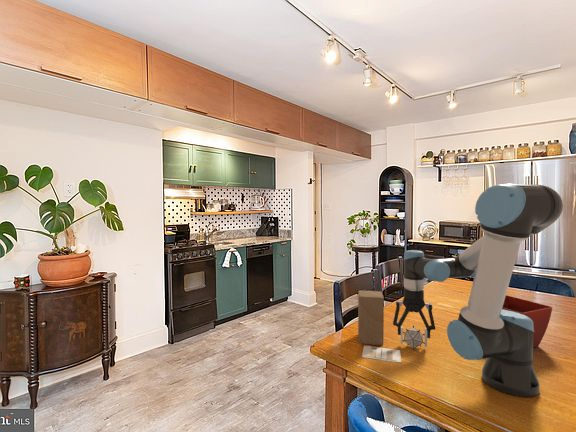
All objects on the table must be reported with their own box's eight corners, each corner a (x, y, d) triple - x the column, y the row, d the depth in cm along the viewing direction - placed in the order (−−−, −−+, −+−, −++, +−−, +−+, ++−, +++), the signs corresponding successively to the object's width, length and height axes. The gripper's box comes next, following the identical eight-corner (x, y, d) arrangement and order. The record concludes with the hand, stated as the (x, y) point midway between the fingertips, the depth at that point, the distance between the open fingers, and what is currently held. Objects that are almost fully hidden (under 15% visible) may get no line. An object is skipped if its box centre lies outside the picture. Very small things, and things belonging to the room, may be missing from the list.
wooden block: (383, 345, 128) (383, 297, 128) (358, 343, 130) (358, 296, 130) (381, 336, 138) (381, 291, 137) (358, 334, 140) (358, 290, 139)
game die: (411, 358, 125) (395, 339, 125) (412, 342, 133) (397, 325, 132) (431, 351, 121) (415, 332, 120) (431, 335, 128) (415, 317, 127)
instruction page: (400, 362, 114) (400, 362, 114) (361, 357, 119) (361, 356, 119) (400, 350, 124) (400, 350, 124) (364, 345, 128) (364, 345, 128)
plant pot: (475, 337, 137) (476, 299, 136) (505, 330, 144) (506, 294, 143) (521, 356, 119) (522, 313, 118) (553, 348, 126) (554, 307, 125)
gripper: (441, 288, 126) (441, 343, 127) (386, 284, 133) (386, 337, 133) (444, 293, 119) (444, 351, 120) (386, 288, 126) (386, 344, 126)
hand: (413, 344), depth 127 cm, fingers open, 8 cm apart
